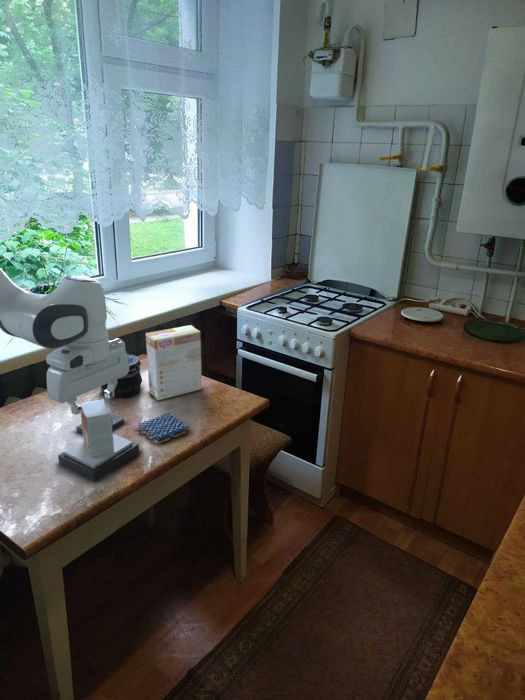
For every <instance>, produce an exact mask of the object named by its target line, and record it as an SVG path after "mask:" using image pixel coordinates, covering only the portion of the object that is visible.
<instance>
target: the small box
mask: <svg viewBox="0 0 525 700" xmlns="http://www.w3.org/2000/svg"><path fill="white" fill-rule="evenodd" d="M79 405H81V406H82V409H81V410H82V412H81V413H80V420H81V424H82V430H83V434H82V436H83V437H82V439H83V441H84V442H85V445H86V447H87V450H88V452H89V455H90V457H95V456H99V455H103V454H107V453H111V452H114V443H113V434H114V432H113V430H112V418H111V414H112V412H111V411H110V409H109V408H108V406H107V403H106V401H105V399H104V398H102V399H96V400H90V401H85V402H81V403H79Z"/></svg>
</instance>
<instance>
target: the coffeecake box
mask: <svg viewBox="0 0 525 700" xmlns="http://www.w3.org/2000/svg"><path fill="white" fill-rule="evenodd" d="M201 337H202V335H201V330H200V329H197V328H195V326H193V325H192V324H189V325H183V326H179V327H173V328H168V329H167V328H166V329H162V330H156V331H150V332H146V333H145V347H146V360H147V361H146V362H147V375H148V389H149V390H148V391H149V393H150V394H151V395H152V396H153V397H154V398H155V399H156V400H157V401H162V400H166V399H169V398H173V397H177V396H181V395H184V394H189V393H193V392H196V391H200V390H202V388H203V387H202V386H203V385H202V382H203V381H202V344H201V343H202V341H201Z"/></svg>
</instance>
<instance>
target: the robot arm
mask: <svg viewBox="0 0 525 700" xmlns="http://www.w3.org/2000/svg"><path fill="white" fill-rule="evenodd" d="M107 317H108V313H107V303H106V297H105V291H104V288H103V286H102V284H101V282H100V281H99V280H97V279H96V278H93V277H89V276H84V275H83V276H82V275H67V276H64V277H63V278H62V280H61V281H60V283H59V285H58V286H57V287H56V288H55V289H53V290H52V291H51V292H49V293H48V294H45V295H44V296H42V295H40V294H37V293H35V292H32V291H30V290H27V289H25V288H22V287H20V286H18V285H16V283H14V282H13V281H12V279H11V278H10V277H9V276H8V274H6V272H5V271H4V270H3V269H2V268H1V267H0V330H1V331H2V332H3V333H5V334H6V335H9V336H11V337H14V338H19V339H22V340H23V341H26V342H28V343H32V344H34V345H36V346H39V347H42V348H45V349H52V351H51V352H50V353H48V354H47V355H46V357H45V361H46V364H47V365H49V367H48V368H47V370H46V391H47V396H48V398H49V399H50V400H52V401H54V402H56V403H58V404H65V403H67V405H69V407H70V413H72V414H73V415H75V416H76V415H79V414H81V412H82V410H81V409H82V406H81V405H80V404H78V403H76V402H77V401H78V397H80V396H82V395H85V394H87V393H89V392H91V391H94V390H96V389H98V388H101V387H100V386H103V385H105V384H107V383H108V386H107V390H105V391H104V393H103V395H104V398H105V399H107V400H110V399H112V398H115V397H114V390H115V387H116V385H117V379H118V378H121V377H123V376H125V375H127V374H128V371H129V363H128V357H127V354H128V353H127V351H126V343H125V341H124V340H123V339H121V338H119V337H118V338H114V339H112V340H110V338H109V337H110V336H109V331H108V329H107V324H106V323H107Z"/></svg>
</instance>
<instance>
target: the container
mask: <svg viewBox="0 0 525 700" xmlns="http://www.w3.org/2000/svg"><path fill="white" fill-rule="evenodd" d="M127 357H128V363H129V371H128V374H127V375H125V376H123V377H121V378H118V379H117V385H116V387H115V390H114V397H113V398H116V399H117V398H119V399H120V398H128V397H131V396H133V395H135V394H137V393H139V392H140V390H141V385H142V383H143V377H142V375H141V365H142V362H141V361H140V359H139V357H138V356H136V355H133V354H129V353H127ZM107 386H108V383H107V384H105V385H103V386H100V387H99V388H101V390H102V393H103V394H104V391H105V390H107Z"/></svg>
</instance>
